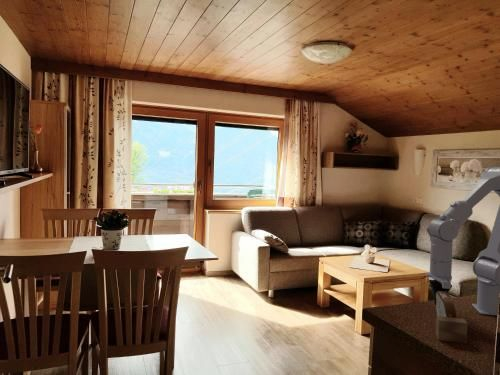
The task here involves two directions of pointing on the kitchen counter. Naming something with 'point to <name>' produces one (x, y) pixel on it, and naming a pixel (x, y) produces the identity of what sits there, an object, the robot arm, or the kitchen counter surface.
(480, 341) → the kitchen counter surface
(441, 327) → the block
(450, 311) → the tin
